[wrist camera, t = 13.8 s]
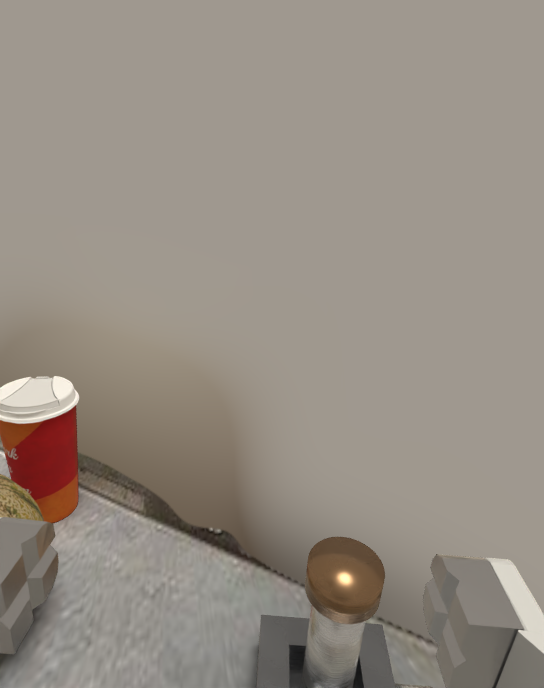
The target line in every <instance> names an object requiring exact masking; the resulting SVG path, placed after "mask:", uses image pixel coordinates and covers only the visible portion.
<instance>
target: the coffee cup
mask: <svg viewBox="0 0 544 688" xmlns="http://www.w3.org/2000/svg"><path fill="white" fill-rule="evenodd" d="M52 379H53V380H52ZM78 401H79V395H78V393H77V392H76V390H75V389H74V387H73V385H72V383H71V382H70V381H69V380H67V379H65V378H62V377H57V376H54V378H49V377H36V378H35V379H32V377H27V378H23V379H19V380H15V381H13V382H10V383H8V384H6V385H4V386H2V387H1V388H0V436H1V440H2V444H3V448H4V452H5V456H6V460H7V464H8V468H9V472H10V476H11V480H12V481H14V482H15V483H16V484H18V485H19V486H21V487H22V488H23V489H24V490H26V491H27V492H28V493H29V494H30V495H31V497H32V498H33V499H34V500H35V502H36V503H37V505H38V506H39V509H40V511H41V513H42V516H43V519H44V521H45V522H50V523H55V522H58V521H60V520H62V519H64V518H66V517H67V516H69V515H70V514H71V513H72V512H73V511H74V510H75V508H76V507H77V504H78V452H77V425H76V424H77V423H76V404H77V402H78Z"/></svg>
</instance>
